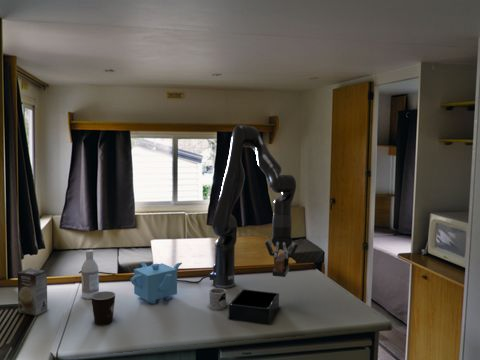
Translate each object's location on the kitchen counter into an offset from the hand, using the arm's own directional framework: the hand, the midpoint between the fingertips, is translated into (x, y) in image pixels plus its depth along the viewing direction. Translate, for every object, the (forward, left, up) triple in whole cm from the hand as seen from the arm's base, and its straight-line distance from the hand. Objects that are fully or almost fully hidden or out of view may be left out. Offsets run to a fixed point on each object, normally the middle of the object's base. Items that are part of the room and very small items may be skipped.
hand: (281, 266), depth 174 cm
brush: (0, 0, -3) cm, 3 cm away
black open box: (-8, -9, -17) cm, 21 cm away
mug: (-24, -6, -17) cm, 30 cm away
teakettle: (-52, -6, -17) cm, 55 cm away
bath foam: (-80, -14, -17) cm, 83 cm away
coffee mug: (-59, -33, -17) cm, 70 cm away
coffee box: (-91, -35, -17) cm, 99 cm away
